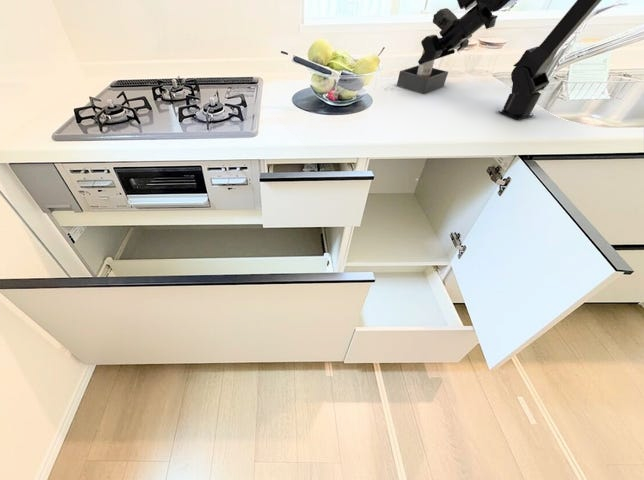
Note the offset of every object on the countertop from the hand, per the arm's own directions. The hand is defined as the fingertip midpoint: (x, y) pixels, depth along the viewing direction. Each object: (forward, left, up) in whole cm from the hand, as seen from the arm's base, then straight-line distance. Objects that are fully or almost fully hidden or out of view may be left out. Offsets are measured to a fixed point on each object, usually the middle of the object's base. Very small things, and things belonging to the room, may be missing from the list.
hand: (423, 61), depth 108 cm
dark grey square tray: (-1, 0, -7) cm, 7 cm away
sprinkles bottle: (-1, 0, -7) cm, 7 cm away
